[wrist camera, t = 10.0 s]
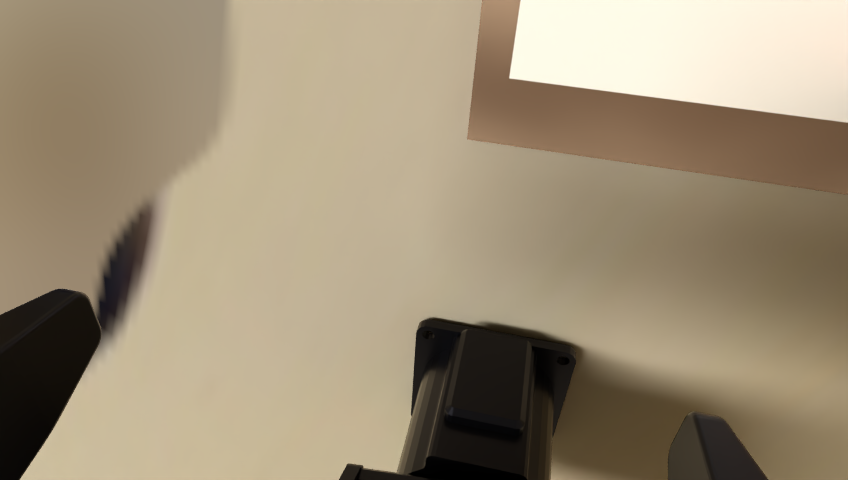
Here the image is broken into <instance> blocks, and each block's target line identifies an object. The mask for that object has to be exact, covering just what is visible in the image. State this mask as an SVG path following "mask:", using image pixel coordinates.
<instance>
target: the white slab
mask: <svg viewBox="0 0 848 480" xmlns="http://www.w3.org/2000/svg"><path fill="white" fill-rule="evenodd" d="M509 78H510V79H518V80H526V81H533V82H541V83H549V84H556V85H564V86H571V87H579V88H587V89H594V90H602V91H610V92H617V93H625V94H632V95H640V96H648V97H655V98H663V99H671V100H678V101H686V102H693V103H701V104H709V105H716V106H724V107H732V108H739V109H747V110H755V111H762V112H770V113H777V114H785V115H793V116H800V117H808V118H816V119H823V120H831V121H838V122H846V123H848V0H521V1H520V7H519V14H518V21H517V28H516V35H515V42H514V49H513V55H512V62H511V69H510V76H509Z"/></svg>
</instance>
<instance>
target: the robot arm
mask: <svg viewBox="0 0 848 480" xmlns="http://www.w3.org/2000/svg"><path fill="white" fill-rule="evenodd" d="M427 331H431V332H432V333H429V332H427ZM100 339H101V327H100V324H99V322H98V319H97V317H96V314H95V312H94V309H93V307H92V304H91V302H90V299H89V298H88V296H87V295H86V294H84V293H82V292H78V291H73V290H67V289H56V290H53V291H51V292H49V293H46V294H44V295H42V296H40V297H38V298H36V299H34V300H31V301H29V302H27V303H25V304H23V305H20V306H18V307H16V308H14V309H12V310H10V311H8V312H5V313H3V314H1V315H0V480H20V478H21V477H22V475H23V474H24V472H25V471H26V469H27V468H28V467H29V465H30V464H31V462H32V461H33V459H34V458H35V456H36V455H37V453H38V452H39V450H40V449H41V447H42V446H43V444H44V443H45V441H46V439H47V438H48V436H49V435H50V433H51V432H52V430H53V428H54V426H55V425H56V423H57V421H58V420H59V418H60V416H61V414H62V412H63V410H64V409H65V407H66V405H67V403H68V401H69V399H70V397H71V396H72V394H73V392H74V390H75V388H76V386H77V384H78V383H79V381H80V379H81V377H82V375H83V373H84V371H85V370H86V368H87V366H88V364H89V362H90V360H91V358H92V356H93V355H94V353H95V351H96V349H97V347H98V345H99V343H100ZM560 356H565V357H566V358H562V357H560ZM575 364H576V352H575V350H574V349H573V348H572V347H570V346H568V345H564V344H558V343H553V342H548V341H542V340H537V339H531V338H526V337H521V336H515V335H510V334H505V333H499V332H494V331H489V330H483V329H478V328H472V327H467V326H462V325H456V324H451V323H446V322H440V321H435V320H423V321H421V322H420V323H419V326H418V329H417V332H416V346H415V362H414V377H413V393H412V408H411V416H412V418H411V421H410V425H409V429H408V433H407V436H406V440H405V444H404V448H403V451H402V455H401V459H400V463H399V466H398V470H397V473H394V472H387V471H380V470H373V469H366V468H363V465H356V464H347V466H346V468H345V470H344V471H343V473H342V475H341V477H340V479H339V480H550V478H551V455H552V438H553V435H554V431H555V428H556V425H557V422H558V419H559V415H560V412H561V409H562V406H563V402H564V399H565V396H566V393H567V390H568V386H569V383H570V380H571V377H572V373H573V370H574V367H575ZM668 480H768V479H767V477H766V476H765V475H764V473H763V472H762V470H761V469H760V468H759V466H758V465H757V464H756V462H755V461H754V459H753V458H752V457H751V455H750V454H749V453H748V451H747V450H746V448H745V447H744V446H743V444H742V443H741V442H740V440H739V439H738V437H737V436H736V435H735V433H734V432H733V431H732V429H731V428H730V426H729V425H728V424H727V422H726V421H725V420H723V419H722V418H721V417H719V416H715V415H710V414H705V413H700V412H690V413H689V414H688V415H687V416H686V417H685V419H684V421H683V423H682V425H681V427H680V429H679V431H678V433H677V435H676V437H675V438H674V440H673V442H672V444H671V447H670V450H669V456H668Z"/></svg>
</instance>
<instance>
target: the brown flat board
mask: <svg viewBox="0 0 848 480" xmlns="http://www.w3.org/2000/svg"><path fill="white" fill-rule="evenodd" d="M520 1H521V0H482V7H481V16H480V26H479V35H478V44H477V53H476V63H475V72H474V81H473V90H472V100H471V109H470V118H469V127H468V137H467V139H469V140H476V141H483V142H490V143H497V144H504V145H510V146H517V147H524V148H531V149H538V150H545V151H552V152H559V153H565V154H572V155H579V156H586V157H593V158H600V159H607V160H614V161H620V162H627V163H634V164H641V165H648V166H655V167H662V168H668V169H675V170H682V171H689V172H696V173H703V174H710V175H717V176H723V177H730V178H737V179H744V180H751V181H758V182H765V183H772V184H778V185H785V186H792V187H799V188H806V189H813V190H820V191H827V192H833V193H840V194H847V195H848V123H846V122H838V121H831V120H823V119H816V118H808V117H800V116H793V115H785V114H777V113H770V112H762V111H755V110H747V109H739V108H732V107H724V106H716V105H709V104H701V103H693V102H686V101H678V100H671V99H663V98H655V97H648V96H640V95H632V94H625V93H617V92H610V91H602V90H594V89H587V88H579V87H571V86H564V85H556V84H549V83H541V82H533V81H526V80H518V79H510V78H509V76H510V69H511V62H512V55H513V49H514V42H515V35H516V28H517V21H518V14H519V7H520Z"/></svg>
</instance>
